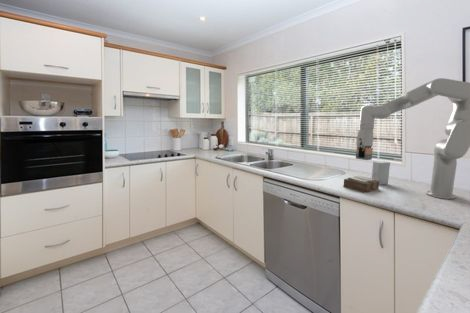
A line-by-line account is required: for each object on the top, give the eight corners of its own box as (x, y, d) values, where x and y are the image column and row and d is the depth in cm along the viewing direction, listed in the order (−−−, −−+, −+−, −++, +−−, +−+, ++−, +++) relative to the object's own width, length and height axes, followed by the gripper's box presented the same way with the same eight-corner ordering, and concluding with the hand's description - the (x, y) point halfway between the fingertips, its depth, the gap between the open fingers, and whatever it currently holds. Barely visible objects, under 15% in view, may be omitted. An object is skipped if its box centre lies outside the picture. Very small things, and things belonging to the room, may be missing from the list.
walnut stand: (356, 183, 162) (357, 175, 161) (378, 189, 150) (379, 179, 149) (343, 186, 154) (344, 177, 154) (365, 192, 143) (365, 182, 142)
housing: (360, 157, 153) (361, 146, 152) (371, 159, 148) (372, 147, 146) (355, 158, 151) (356, 147, 150) (366, 160, 145) (367, 148, 144)
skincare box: (381, 182, 167) (383, 160, 164) (388, 184, 161) (390, 162, 159) (370, 182, 165) (372, 161, 163) (377, 185, 159) (379, 162, 157)
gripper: (368, 126, 154) (365, 155, 157) (351, 127, 145) (349, 157, 148) (380, 127, 148) (377, 157, 150) (364, 127, 139) (361, 159, 141)
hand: (363, 156), depth 149 cm, fingers closed on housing, 5 cm apart
